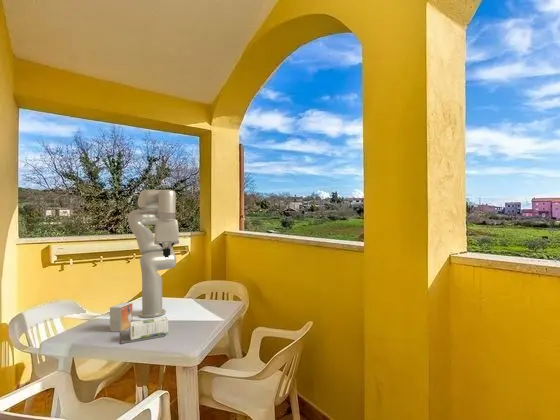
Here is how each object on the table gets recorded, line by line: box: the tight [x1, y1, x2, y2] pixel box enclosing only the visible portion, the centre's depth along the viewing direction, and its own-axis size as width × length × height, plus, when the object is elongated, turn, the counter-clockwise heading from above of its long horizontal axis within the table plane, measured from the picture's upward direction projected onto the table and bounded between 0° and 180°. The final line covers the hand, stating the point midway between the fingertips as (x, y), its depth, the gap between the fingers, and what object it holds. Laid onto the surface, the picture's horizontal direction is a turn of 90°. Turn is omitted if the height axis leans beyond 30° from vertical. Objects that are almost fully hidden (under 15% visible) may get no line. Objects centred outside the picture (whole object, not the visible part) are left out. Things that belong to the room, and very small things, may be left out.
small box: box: [109, 302, 133, 333], centre depth 142 cm, size 8×6×10 cm
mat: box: [120, 330, 166, 345], centre depth 134 cm, size 14×16×1 cm
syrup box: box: [128, 316, 169, 340], centre depth 132 cm, size 6×6×14 cm
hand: (166, 257), depth 146 cm, fingers closed
